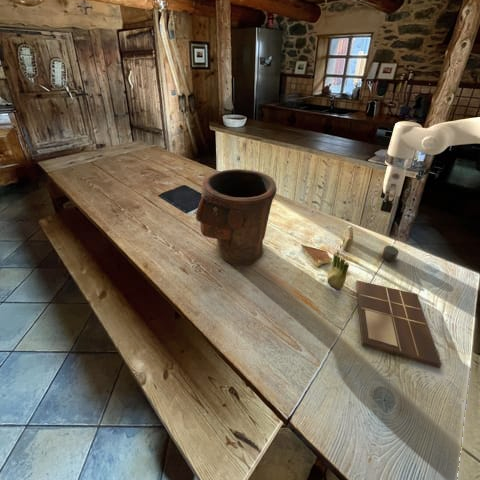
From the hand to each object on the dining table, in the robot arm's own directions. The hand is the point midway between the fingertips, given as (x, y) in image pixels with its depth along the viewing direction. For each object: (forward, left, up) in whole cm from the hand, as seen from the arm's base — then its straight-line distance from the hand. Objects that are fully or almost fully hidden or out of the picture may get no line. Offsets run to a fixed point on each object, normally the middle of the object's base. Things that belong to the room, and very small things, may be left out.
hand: (385, 204), depth 94 cm
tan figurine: (+10, -1, -22) cm, 24 cm away
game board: (-2, +29, -22) cm, 37 cm away
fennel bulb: (+14, +21, -22) cm, 34 cm away
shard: (+21, +10, -22) cm, 32 cm away
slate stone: (-6, +1, -22) cm, 23 cm away
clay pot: (+51, +16, -22) cm, 58 cm away
